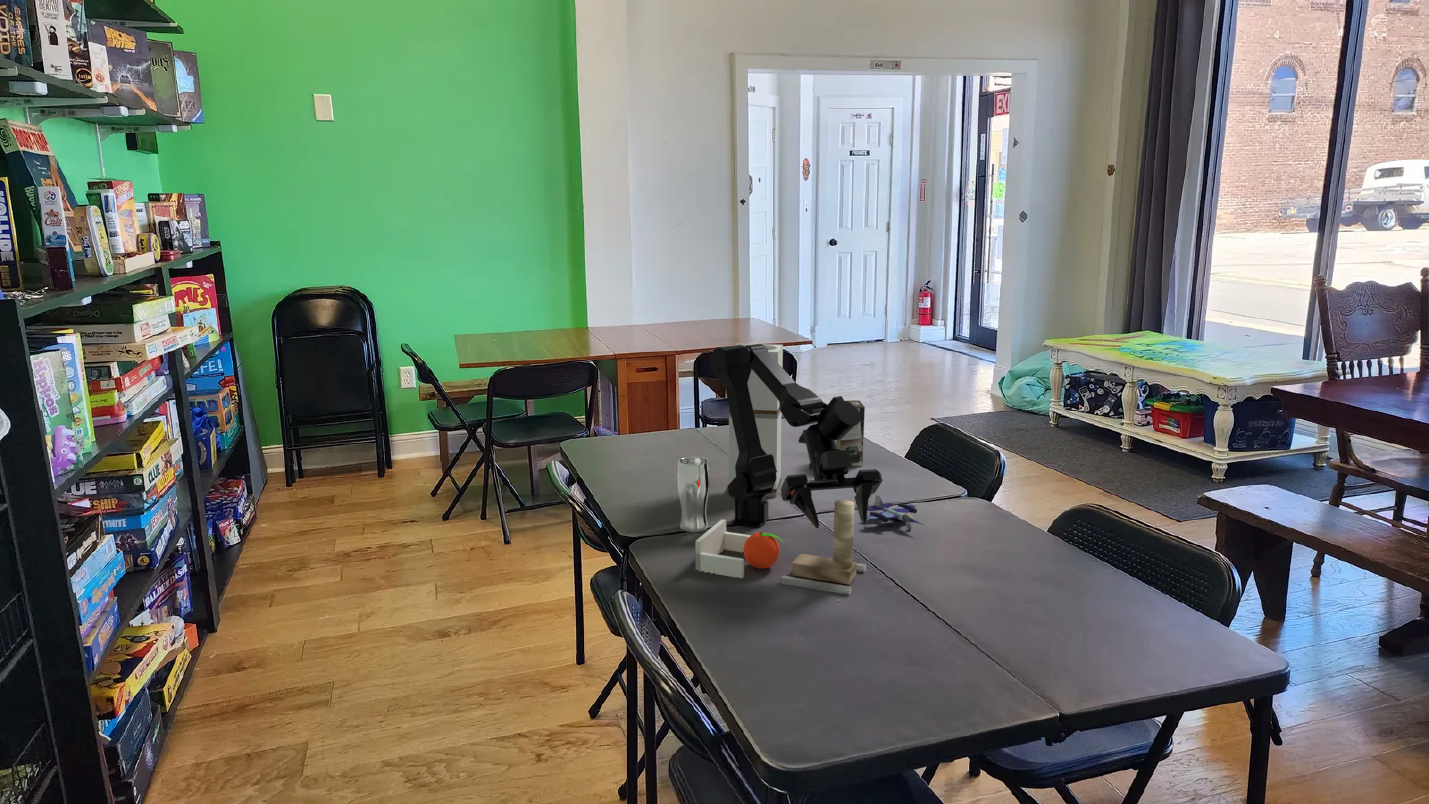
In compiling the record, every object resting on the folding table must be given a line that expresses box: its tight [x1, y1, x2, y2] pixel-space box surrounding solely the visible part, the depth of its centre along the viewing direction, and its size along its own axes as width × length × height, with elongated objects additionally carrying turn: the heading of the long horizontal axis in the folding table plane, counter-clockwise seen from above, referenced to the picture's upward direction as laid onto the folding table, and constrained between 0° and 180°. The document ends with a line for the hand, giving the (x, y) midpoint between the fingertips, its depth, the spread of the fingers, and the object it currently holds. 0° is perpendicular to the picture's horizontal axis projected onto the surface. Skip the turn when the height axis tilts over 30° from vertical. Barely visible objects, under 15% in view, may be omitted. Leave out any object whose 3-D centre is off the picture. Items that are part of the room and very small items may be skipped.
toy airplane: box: [867, 495, 927, 532], centre depth 199 cm, size 13×14×4 cm
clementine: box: [743, 531, 786, 570], centre depth 175 cm, size 8×7×7 cm
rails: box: [780, 562, 867, 596], centre depth 171 cm, size 13×12×1 cm
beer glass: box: [676, 456, 711, 533], centre depth 196 cm, size 7×7×15 cm
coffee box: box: [835, 399, 866, 467], centre depth 245 cm, size 9×6×16 cm
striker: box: [791, 499, 857, 586], centre depth 170 cm, size 11×5×15 cm, turn 67°
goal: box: [694, 518, 751, 579], centre depth 178 cm, size 10×13×6 cm
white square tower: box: [728, 343, 784, 498], centre depth 220 cm, size 11×11×35 cm
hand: (841, 525), depth 170 cm, fingers open, 9 cm apart
